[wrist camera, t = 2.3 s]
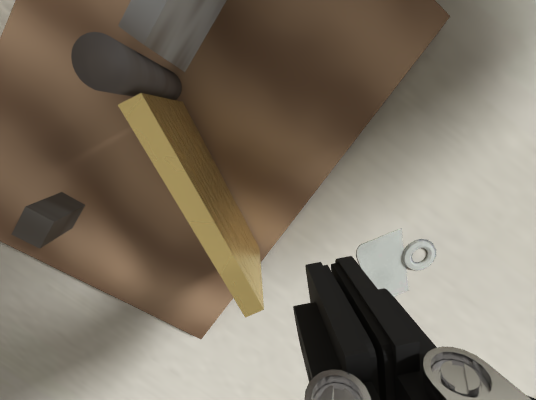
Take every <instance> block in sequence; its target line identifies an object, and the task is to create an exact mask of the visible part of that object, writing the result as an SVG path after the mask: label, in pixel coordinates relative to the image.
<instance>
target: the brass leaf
mask: <svg viewBox="0 0 536 400" xmlns="http://www.w3.org/2000/svg"><path fill="white" fill-rule="evenodd" d="M118 106H119V108H120V110H121V111H122V113H123V115H124V116H125V118H126V120H127V121H128V123H129V125H130V126H131V128H132V130H133V131H134V133H135V135H136V136H137V138H138V140H139V141H140V143H141V145H142V146H143V148H144V150H145V151H146V153H147V155H148V156H149V158H150V160H151V161H152V163H153V165H154V166H155V168H156V170H157V171H158V173H159V175H160V176H161V178H162V180H163V181H164V183H165V185H166V186H167V188H168V190H169V191H170V193H171V195H172V196H173V198H174V200H175V201H176V203H177V204H178V206H179V208H180V209H181V211H182V213H183V214H184V216H185V218H186V219H187V221H188V223H189V224H190V226H191V228H192V229H193V231H194V233H195V234H196V236H197V238H198V239H199V241H200V243H201V244H202V246H203V248H204V249H205V251H206V253H207V254H208V256H209V258H210V259H211V261H212V263H213V264H214V266H215V268H216V269H217V271H218V273H219V274H220V276H221V278H222V279H223V281H224V283H225V284H226V286H227V288H228V289H229V291H230V293H231V294H232V296H233V298H234V299H235V301H236V303H237V304H238V306H239V308H240V309H241V311H242V313H243V314H244V316H245V317H247V316H250V315H252V314H254V313H257V312H259V311H261V310H264V305H263V291H262V277H261V263H260V248H259V246H258V244H257V242H256V240H255V238H254V236H253V234H252V233H251V231H250V229H249V227H248V225H247V223H246V221H245V219H244V217H243V215H242V213H241V212H240V210H239V208H238V206H237V204H236V202H235V200H234V198H233V196H232V194H231V193H230V191H229V189H228V187H227V185H226V183H225V181H224V179H223V177H222V175H221V174H220V172H219V170H218V168H217V166H216V164H215V162H214V160H213V158H212V156H211V154H210V153H209V151H208V149H207V147H206V145H205V143H204V141H203V139H202V137H201V135H200V134H199V132H198V130H197V128H196V126H195V124H194V122H193V120H192V118H191V116H190V115H189V113H188V111H187V109H186V107H185V105H184V103H183V102H181V101H177V100H172V99H167V98H163V97H158V96H153V95H148V94H144V93H140V94H138V95H136V96H134V97H132V98H130V99H128V100H126V101H124V102H122V103H120V104H118Z"/></svg>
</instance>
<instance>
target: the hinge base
mask: <svg viewBox="0 0 536 400" xmlns="http://www.w3.org/2000/svg"><path fill="white" fill-rule="evenodd" d="M449 17H450V15H449V14H448V13H447V12H446V11H445V10H444V9H443V8H442V7H441V6H440V5H439V4H438V3H437V2H436V1H435V0H16V1H15V3H14V6H13V8H12V11H11V13H10V16H9V18H8V21H7V23H6V25H5V28H4V30H3V33H2V35H1V38H0V241H1V242H3V243H5V244H7V245H9V246H11V247H13V248H15V249H17V250H19V251H21V252H24V253H26V254H28V255H30V256H32V257H34V258H36V259H38V260H40V261H42V262H44V263H46V264H48V265H50V266H52V267H54V268H56V269H58V270H60V271H62V272H64V273H67V274H69V275H71V276H73V277H75V278H77V279H79V280H81V281H83V282H85V283H87V284H89V285H91V286H93V287H95V288H97V289H99V290H101V291H103V292H105V293H107V294H109V295H112V296H114V297H116V298H118V299H120V300H122V301H124V302H126V303H128V304H130V305H132V306H134V307H136V308H138V309H140V310H142V311H144V312H146V313H148V314H150V315H152V316H155V317H157V318H159V319H161V320H163V321H165V322H167V323H169V324H171V325H173V326H175V327H177V328H179V329H181V330H183V331H185V332H187V333H189V334H191V335H193V336H195V337H197V338H200V339H202V338H203V336H204V335H205V334H206V332H207V331H208V330H209V329H210V327H211V326H212V325H213V323H214V322H215V321H216V319H217V318H218V317H219V316H220V314H221V313H222V312H223V310H224V309H225V308H226V307H227V305H228V304H229V303H230V301H231V300H232V299H233V296H232V294H231V293H230V291H229V289H228V288H227V286H226V284H225V283H224V281H223V279H222V278H221V276H220V274H219V273H218V271H217V269H216V268H215V266H214V264H213V263H212V261H211V259H210V258H209V256H208V254H207V253H206V251H205V249H204V248H203V246H202V244H201V243H200V241H199V239H198V238H197V236H196V234H195V233H194V231H193V229H192V228H191V226H190V224H189V223H188V221H187V219H186V218H185V216H184V214H183V213H182V211H181V209H180V208H179V206H178V204H177V203H176V201H175V200H174V198H173V196H172V195H171V193H170V191H169V190H168V188H167V186H166V185H165V183H164V181H163V180H162V178H161V176H160V175H159V173H158V171H157V170H156V168H155V166H154V165H153V163H152V161H151V160H150V158H149V156H148V155H147V153H146V151H145V150H144V148H143V146H142V145H141V143H140V141H139V140H138V138H137V136H136V135H135V133H134V131H133V130H132V128H131V126H130V125H129V123H128V121H127V120H126V118H125V116H124V115H123V113H122V111H121V110H120V108H119V106H118V104H120V103H122V102H124V101H126V100H128V99H130V98H132V97H134V96H136V95H138V94H140V93H144V94H148V95H153V96H158V97H163V98H167V99H172V100H177V101H181V102H183V103H184V105H185V107H186V109H187V111H188V113H189V115H190V116H191V118H192V120H193V122H194V124H195V126H196V128H197V130H198V132H199V134H200V135H201V137H202V139H203V141H204V143H205V145H206V147H207V149H208V151H209V153H210V154H211V156H212V158H213V160H214V162H215V164H216V166H217V168H218V170H219V172H220V174H221V175H222V177H223V179H224V181H225V183H226V185H227V187H228V189H229V191H230V193H231V194H232V196H233V198H234V200H235V202H236V204H237V206H238V208H239V210H240V212H241V213H242V215H243V217H244V219H245V221H246V223H247V225H248V227H249V229H250V231H251V233H252V234H253V236H254V238H255V240H256V242H257V244H258V246H259V248H260V262H261V261H262V260H263V259H264V257H265V256H266V255H267V253H268V252H269V251H270V249H271V248H272V247H273V246H274V244H275V243H276V242H277V240H278V239H279V238H280V237H281V235H282V234H283V233H284V231H285V230H286V229H287V227H288V226H289V225H290V224H291V222H292V221H293V220H294V218H295V217H296V216H297V214H298V213H299V212H300V211H301V209H302V208H303V207H304V205H305V204H306V203H307V202H308V200H309V199H310V198H311V196H312V195H313V194H314V192H315V191H316V190H317V189H318V187H319V186H320V185H321V183H322V182H323V181H324V179H325V178H326V177H327V176H328V174H329V173H330V172H331V170H332V169H333V168H334V167H335V165H336V164H337V163H338V161H339V160H340V159H341V157H342V156H343V155H344V154H345V152H346V151H347V150H348V148H349V147H350V146H351V144H352V143H353V142H354V141H355V139H356V138H357V137H358V135H359V134H360V133H361V132H362V130H363V129H364V128H365V126H366V125H367V124H368V122H369V121H370V120H371V119H372V117H373V116H374V115H375V113H376V112H377V111H378V109H379V108H380V107H381V106H382V104H383V103H384V102H385V100H386V99H387V98H388V97H389V95H390V94H391V93H392V91H393V90H394V89H395V87H396V86H397V85H398V84H399V82H400V81H401V80H402V78H403V77H404V76H405V74H406V73H407V72H408V71H409V69H410V68H411V67H412V65H413V64H414V63H415V62H416V60H417V59H418V58H419V56H420V55H421V54H422V52H423V51H424V50H425V49H426V47H427V46H428V45H429V43H430V42H431V41H432V39H433V38H434V37H435V36H436V34H437V33H438V32H439V30H440V29H441V28H442V27H443V25H444V24H445V23H446V21H447V20H448V19H449Z"/></svg>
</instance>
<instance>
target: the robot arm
mask: <svg viewBox="0 0 536 400" xmlns="http://www.w3.org/2000/svg"><path fill="white" fill-rule="evenodd" d="M331 271H332V272H331ZM306 274H307V281H308V288H309V295H310V302H311V303H307V304H302V305H297V306H293V308H294V315H295V321H296V326H297V332H298V336H299V341H300V346H301V350H302V354H303V358H304V362H305V366H306V370H307V375H308V379H309V384H308V386H307V389H306V392H305V400H536V399H534V398H532V397H529V396H527V395H525V394H524V393H523V392H522V391H520V390H519V389H518V388H517V387H515V386H514V385H513V384H512V383H511V382H509V381H508V380H507V379H506V378H505V377H503V376H502V375H501V374H500V373H498V372H497V371H496V370H495V369H494V368H492V367H491V366H490V365H489V364H488V363H486V362H485V361H483V360H482V359H480V358H479V357H478V356H476V355H474V354H472V353H470V352H468V351H465V350H462V349H458V348H455V347H438V348H437V347H436V346H435V345H434V344H433V343H432V341H431V340H430V339H429V338H428V337H427V336H426V334H425V333H424V332H423V331H422V330H421V328H420V327H419V326H418V325H417V324H416V323H415V321H414V320H413V319H412V318H411V317H410V315H409V314H408V313H407V312H406V311H405V310H404V308H403V307H402V306H401V305H400V304H399V302H398V301H397V300H396V299H395V298H394V297H393V295H392V294H391V293H390V292H389V291H388V290H387V289H385V288H383V289H377V287H376V286H375V285H374V284H373V282H372V281H371V280H370V279H369V277H368V276H367V275H366V273H365V272H364V271H363V270H362V268H361V267H360V266H359V265H358V263H357V262H356V261H355V260H354V258H353V257H352V256H349V257H344V258H339V259H336V261H335V263H334V264H331V270H330V268H329V267H328V265H324V266H323V265H322V263H321V262H318V263H313V264H308V265H306Z"/></svg>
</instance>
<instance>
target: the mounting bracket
mask: <svg viewBox="0 0 536 400" xmlns="http://www.w3.org/2000/svg"><path fill="white" fill-rule="evenodd" d="M419 248H425V249H426V250H427V256H426V258H425V259H424V260H423V261H421V262H414V261H413V260H412V254H413V252H414V251H415V250H417V249H419ZM435 257H436V249H435V247H434V245H433V243H431V242H430V241H428V240H424V239H419V240H415V241H413V242H412V243H410V244H408V246H407V247H406V248H405V249H404V245H403V237H402V228H400V229H398V230H395V231H393V232H391V233H388V234H386V235H383V236H381V237H378V238H376V239H373V240H371V241H369V242H366V243H364V244H361V245H360V246H359V247H358V249H357V259H358V261H359V264H360V267H361V268H362V270H363V271H364V272H365V273H366V275H367V276H368V277H369V279H370V280H371V281H372V282H373V284H374V285H375V286H376V287H377V289H383V288H385V289H387V290H388V291H389V292H390V293H391V294H392V295H393V297H394V296H396V295H399V294H401V293H404V292H406V291H409V289H408V280H407V271H406V267H408V268H409V269H412V270H422V269H425V268H427V267H428V266H430V265H431V264H432V262H433V261H434V259H435Z"/></svg>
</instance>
